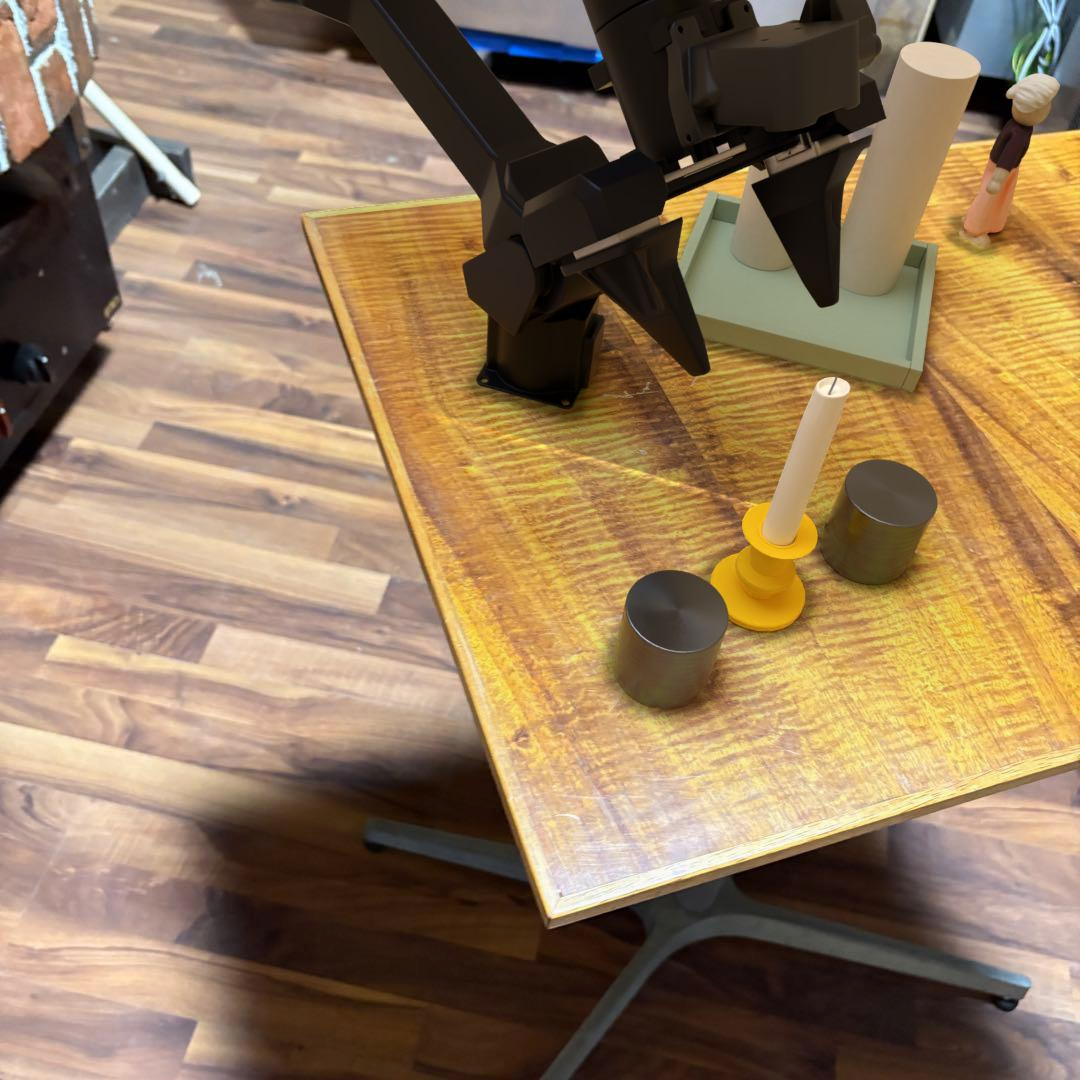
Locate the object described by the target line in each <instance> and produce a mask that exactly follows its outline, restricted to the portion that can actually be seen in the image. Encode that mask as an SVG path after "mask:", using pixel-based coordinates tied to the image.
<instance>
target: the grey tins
mask: <svg viewBox="0 0 1080 1080" xmlns="http://www.w3.org/2000/svg"><path fill="white" fill-rule="evenodd" d="M938 505H939V501H938V495H937V492H936V490H935V488H934V487H933V485H932V484H931V482H930V481H929V480H928V478H926V476H924V475H923V474H922V473H920V472H919V471H917V470H916V469H914V468H913V467H911V466H909V465H906V464H904V463H902V462H898V461H894V460H890V459H885V458H884V459H881V458H876V459H867V460H864V461H861V462H859V463H857V464H855V465H854V466H853V467H851V468H850V469H849V471H848V472H847V473H846V476H845V478H844V480H843V483H842V485H841V487H840V490H839V492H838V494H837V496H836V499H835V500H834V503H833V506H832V508H831V510H830V513H829V515H828V518H827V520H826V522H825V525H824V527H823V530H822V532H821V534H820V539H819V547H820V552H821V554H822V556H823V558H824V559H825V561H826V563H828V565H829V566H830V567H831V568H832V569H833V570H835V571H836V572H837V573H838V574H839V575H841V576H843V577H845V578H846V579H849V580H851V581H854V582H856V583H860V584H865V585H883V584H884V585H885V584H888V583H891V582H893V581H895V580H896V579H898V578H899V577H900V576H902V575H903V573H904V571H905V570H906V568H907V566H908V565H909V563H910V561H911V559H912V557H913V555H914V553H915V552H916V549H918V546H919V545H920V543H921V541H922V539H923V536H924V535H925V533H926V532H927V529H928V528H929V526H930V524H931V522H932V521H933V518H934V516H935V515H936V513H937V511H938ZM729 621H730V620H729V614H728V609H727V606H726V603H725V601H724V599H723V597H722V596H721V594H720V593H719V592H718V591H717V589H716V588H715V587H714V586H712V585H711V584H710V581H707V580H706V579H704V578H702V577H701V576H698V575H696V574H694V573H692V572H688V571H684V570H678V569H661V570H656V571H653V572H650V573H648V574H645V575H643V576H642V577H640V578H639V579H638V580H636V581H635V583H634V584H633V585H632V586H631V587H630V589H629V590H628V592H627V594H626V598H625V601H624V606H623V610H622V615H621V620H620V625H619V629H618V632H617V638H616V642H615V647H614V652H613V656H612V668H613V670H612V671H613V674H614V676H615V679H616V681H617V682H618V685H619V686H620V687H621V688H622V689H623V691H624V692H625V693H626V694H627V695H628V696H630V697H631V698H632V699H634V700H635V701H636V702H639V703H640V704H643V705H645V706H647V707H651V708H655V709H664V710H665V709H666V710H671V709H678V708H682V707H685V706H687V705H688V704H689V705H690V704H691V703H693V702H694V701H695V700H697V699H698V698H699V697H700V696H701V695H702V694H704V693H703V692H704V691H705V690H706V688H707V686H708V683H709V680H710V678H711V674H712V671H713V669H714V666H715V663H716V661H717V658H718V655H719V652H720V650H721V648H722V644H723V641H724V638H725V636H726V632H727V630H728V627H729V623H730V622H729Z"/></svg>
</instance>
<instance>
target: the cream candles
mask: <svg viewBox="0 0 1080 1080" xmlns="http://www.w3.org/2000/svg"><path fill="white" fill-rule="evenodd" d="M796 20H800V18H798V19H797V18H796ZM981 71H982V65H981V63H980V61H979V60H978V59H977V58H976V57H975V56H974V55H973V54H971V53H969V52H967V51H966V50H963V49H961V48H959V47H955V46H953V45H950V44H945V43H940V42H933V41H919V42H917V41H916V42H912V43H909V44H907V45H905V46H903V47H902V48H901V49H900V51H899V54H898V58H897V61H896V64H895V68H894V70H893V73H892V76H891V79H890V82H889V85H888V88H887V91H886V94H885V97H884V100H883V102H882V105H883V108H884V112H885V115H886V118H887V119H884V120H882V121H880V122H877V123H875V126H874V130H873V133H872V135H873V137H872V142H871V144H870V147H868V148H867V151H866V154H865V157H864V160H863V163H862V166H861V169H860V171H859V175H858V177H857V181H856V184H855V187H854V189H853V193H852V196H851V199H850V201H849V204H848V208H847V211H846V213H845V217H844V219H843V226H842V229H841V239H840V285H839V286H840V287H842V288H843V289H845V290H847V291H850V292H852V293H855V294H859V295H865V296H879V295H883V294H886V293H888V292H890V291H891V290H892V289H893V288H894V287H895V285H896V282H897V279H898V277H899V274H900V272H901V269H902V267H903V264H904V262H905V259H906V257H907V254H908V252H909V249H910V247H911V244H912V242H913V239H915V238H916V234H917V231H918V230H919V226H920V224H921V221H922V219H923V216H924V214H925V211H926V209H927V207H928V204H929V202H930V199H931V196H932V194H933V191H934V189H935V186H936V183H937V181H938V179H939V177H940V173H941V171H942V169H943V167H944V165H945V161H946V159H947V156H948V154H949V151H950V150H951V149H950V148H951V146H952V144H953V141H954V139H955V137H956V133H957V131H958V128H959V126H960V124H961V121H962V118H963V116H964V115H965V111H966V109H967V106H968V103H969V101H970V99H971V96H972V93H973V92H974V89H975V87H976V84H977V81H978V78H979V76H980V73H981ZM767 177H769V176H768V173H767V170H766V169H765V170H763V171H760V170H758V169H757V168H755V167H754V166H752V165H751V166H749V167H748V170H747V174H746V178H745V183H744V185H743V186H744V187H743V190H742V195H741V197H740V198H741V203H740V207H739V211H738V215H737V219H736V223H735V227H734V231H733V236H732V240H731V244H730V249H731V252H732V254H733V256H734V257H735V258H736V259H737V260H738V261H740V262H741V263H743V264H745V265H747V266H749V267H752V268H755V269H759V270H765V271H777V270H782V269H785V268H787V267H789V266H791V265H792V262H791V260H790V258H789V256H788V254H787V253H786V251H785V249H784V247H783V245H782V243H781V241H780V239H779V237H778V236H777V234H776V232H775V230H774V228H773V226H772V224H771V222H770V220H769V219H768V217H767V215H766V213H765V211H764V209H763V208H762V206H761V204H760V202H759V200H758V198H757V196H756V194H755V192H754V191H753V189H752V186H751V184H753V183H755V182H758V181H760V180H762V179H764V178H767Z"/></svg>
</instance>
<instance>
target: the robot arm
mask: <svg viewBox="0 0 1080 1080" xmlns="http://www.w3.org/2000/svg"><path fill="white" fill-rule="evenodd" d="M297 1H298V3H299V4H300V5H301V6H303V7H304V9H307V10H309V11H312V12H314V13H316V14H319V15H321V16H324V17H325V18H329V19H332V20H334V21H336V22H338V23H341V24H343V25H346V26H348V27H349V28H350V29H351V30H352V31H353V32H354V34H355V35H356V37H357V38H358V39H359V40H360V41H361V43H362V44H363V45H364V47H365V49H366V50H367V51H368V52H369V53H370V55H371V56H372V57H373V59H374V60H375V62H376V63H377V64H378V65H379V67H380V68H381V70H382V71H383V72H384V73H385V74H386V76H387V77H388V79H389V80H390V81H391V82H392V84H393V85H394V87H395V88H396V89H397V90H398V92H399V94H400V95H401V96H402V97H403V98H404V100H405V101H406V103H407V104H408V106H410V108H411V109H412V110H413V112H414V114H416V116H417V117H418V119H419V120H420V121H421V122H422V124H423V125H424V126H425V127H426V129H427V131H429V133H430V134H431V136H432V137H433V138H434V139H435V141H436V142H437V143H438V145H439V146H440V147H441V149H442V150H443V152H444V153H445V154H446V156H447V157H448V158H449V159H450V161H451V162H452V163H453V165H454V166H455V168H456V169H457V170H458V171H459V173H460V174H461V175H462V177H463V178H464V179H465V180H466V182H467V183H468V185H469V186H470V187H471V189H472V191H474V193H475V194H476V196H477V197H478V199H479V201H480V214H481V216H480V217H481V233H482V234H481V235H482V246H483V249H484V251H482V252H480V254H478V255H476V256H474V257H472V258H470V259H469V260H467V261H465V262H463V263H462V264H461V265H462V266H461V269H462V275H463V279H464V284H465V289H466V293H467V297H468V299H469V300H470V301H472V302H473V303H474V304H475V305H476V306H477V307H479V309H481V310H482V311H483V312H485V313H486V315H487V324H486V325H487V326H486V327H487V329H486V354H485V362H484V365H483V366H482V368H481V370H480V371H479V373H478V375H477V377H476V380H475V382H476V384H477V385H478V386H480V387H483V388H486V389H491V390H494V391H498V392H502V393H505V394H508V395H513V396H515V397H519V398H523V399H526V400H531V401H533V402H537V403H541V404H545V405H549V406H552V407H555V408H560V409H563V410H570V409H573V407H574V406H575V404H576V401H577V399H578V397H579V395H580V393H581V390H583V391H585V390H587V389H589V388H590V385H591V383H592V381H593V379H594V377H595V375H596V373H597V370H598V368H599V366H600V359H601V352H602V345H603V339H604V331H605V324H606V318H605V315H603V314H600V313H598V311H599V310H598V309H599V305H600V304H599V303H600V296H602V295H604V296H606V297H607V298H608V299H609V300H611V302H613V303H614V304H615V305H617V306H618V307H619V308H621V310H623V311H624V312H625V313H626V314H627V315H628V316H629V317H631V318H632V319H633V320H634V322H635V323H637V324H638V325H639V326H640V328H642V329H643V330H644V331H645V332H646V333H647V334H648V335H649V336H650V337H651V338H652V339H653V340H654V341H655V342H656V343H657V344H658V345H659V346H660V347H661V348H662V349H663V350H664V351H665V352H666V353H667V354H668V355H669V356H670V358H672V359H673V360H674V361H675V362H676V363H677V364H678V365H679V366H680V367H681V368H682V369H683V370H684V371H685V372H686V373H687V374H688V375H689V376H690V377H693V378H696V377H702V376H705V375H707V374H709V373H710V372H711V363H710V360H709V355H708V350H707V345H706V341H705V339H704V338H703V335H702V332H701V329H700V326H699V323H698V320H697V317H696V315H695V312H694V309H693V306H692V303H691V300H690V297H689V294H688V291H687V288H686V285H685V282H684V279H683V276H682V274H681V271H680V268H679V265H678V263H679V261H678V256H679V255H678V254H679V249H680V241H681V237H682V230H683V225H684V219H683V216H680V217H677V218H675V219H673V220H670V221H668V222H665V223H663V224H662V223H661V220H660V217H659V216H662V215H663V212H664V208H665V205H666V202H667V201H670V200H672V199H675V198H677V197H680V196H682V195H684V194H687V193H689V192H692V191H693V190H696V189H698V188H701V187H703V186H705V185H708V184H710V183H712V182H715V181H718V180H720V179H723V178H724V177H726V176H729V175H731V174H734V173H737V172H740V171H741V170H744V169H746V168H749V166H751V165H752V166H754V167H755V168H757V169H758V170H760V171H763V170H765V169H766V170H767V173H768V176H769V177H767V178H764V179H762V180H760V181H758V182H755V183H753V184H751V186H752V189H753V191H754V192H755V194H756V196H757V198H758V200H759V202H760V204H761V206H762V208H763V209H764V211H765V213H766V215H767V217H768V219H769V220H770V222H771V224H772V226H773V228H774V230H775V232H776V234H777V236H778V237H779V239H780V241H781V243H782V245H783V247H784V249H785V251H786V253H787V254H788V256H789V258H790V260H791V262H792V264H793V266H794V268H795V270H796V271H797V273H798V275H799V277H800V279H801V281H802V283H803V284H804V286H805V287H806V289H807V290H808V292H809V293H810V295H811V296H812V298H813V300H814V301H815V303H816V304H817V306H818V307H820V308H825V307H830V306H833V305H835V304H837V303H838V301H839V285H840V239H841V222H842V211H843V201H844V190H845V185H846V182H847V180H848V177H849V175H850V174H851V172H852V170H853V169H854V166H855V165H856V162H858V160H859V157H860V155H861V153H862V152H863V151H864V150H866V149H868V148H869V147H870V144H871V142H872V137H873V133H871V134H869V135H866V136H864V137H861V138H858V139H856V140H854V141H850V137H849V135H851V134H854V133H857V132H859V131H861V130H864V129H865V128H869V127H870V126H873V125H876V124H877V122H880V121H882V120H884V119H887V118H886V115H885V112H884V108H883V102H882V99H881V94H880V92H879V88H878V85H877V82H876V79H874V78H872V77H870V76H868V75H867V74H865V73H863V72H862V71H861V70H863V69H866V68H868V67H870V66H871V64H872V63H873V62H874V60H875V59H876V58H877V57H878V56H879V55H880V54H881V51H882V48H883V47H882V46H883V43H882V39H881V38H880V36H879V35H878V34H877V23H876V20H875V17H874V15H873V12H872V9H871V8H870V5H869V2H868V1H867V0H805V1H804V4H803V7H802V10H801V14H800V17H799V19H800V20H797V19H791V20H789V21H786V22H782V23H781V24H773V25H762V26H761V25H760V23H759V22H758V19H757V17H756V13H755V10H754V8H753V5H752V3H751V2H750V0H581V1H582V4H583V7H584V9H585V12H586V15H587V18H588V20H589V23H590V26H591V28H592V31H593V35H594V37H595V40H596V44H597V45H598V49H599V51H600V54H601V57H602V59H601V60H599V61H598V62H596V63H595V64H593V65H592V66H591V67H589V68H588V69H587V72H588V74H589V78H590V81H591V83H592V86H593V89H594V91H595V92H597V91H601V90H604V89H607V88H609V87H613V91H614V93H615V96H616V99H617V102H618V104H619V106H620V110H621V112H622V116H623V118H624V120H625V123H626V127H627V129H628V132H629V135H630V137H631V140H632V143H633V146H634V149H632V150H630V151H627V152H626V153H624V154H622V155H620V156H619V158H616V159H614V160H611V161H610V160H609V159H608V156H607V155H606V154H605V152H604V151H603V149H602V147H601V146H600V144H599V143H598V142H596V141H595V140H594V139H592V138H591V137H590V136H589V135H587V134H584V135H581V136H578V137H576V138H575V137H574V138H573V139H570V140H567V141H564V142H561V143H559V144H557V143H554V142H552V141H550V140H548V139H546V138H545V137H544V136H543V135H542V134H541V133H540V132H539V130H538V129H537V127H536V126H535V125H534V124H533V122H532V121H531V120H530V118H528V116H527V115H526V114H525V112H524V111H523V110H522V109H521V107H520V106H519V104H518V103H517V102H516V101H515V100H514V98H513V97H512V95H510V93H509V92H508V91H507V90H506V88H505V86H504V85H503V84H502V83H501V82H500V80H499V79H498V78H497V76H496V75H495V73H493V71H492V70H491V69H490V67H488V65H487V64H486V62H485V61H484V60H483V59H482V57H481V56H480V55H479V54H478V52H477V51H476V50H475V48H474V47H473V46H472V45H471V43H470V42H469V41H468V39H467V38H466V36H464V35H463V32H461V30H460V29H459V28H458V27H457V25H456V24H455V23H454V22H453V21H452V19H451V17H449V15H448V14H447V13H446V11H445V10H444V9H443V8H442V6H441V5H440V3H439V2H438V1H437V0H297ZM726 144H727V145H728V148H729V149H725V150H723V151H721V152H719V150H718V148H719V147H722V146H724V145H726ZM687 157H691V161H692V163H691V164H689V165H686V166H683V167H681V165H680V161H681V160H683V159H685V158H687ZM482 380H487V381H482ZM563 402H568V403H569V404H565V403H563Z"/></svg>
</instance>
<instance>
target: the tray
mask: <svg viewBox="0 0 1080 1080" xmlns="http://www.w3.org/2000/svg"><path fill="white" fill-rule="evenodd" d="M741 198H742V197H736V196H732V195H727V194H724V193H719V192H717V191H713V190H712V191H711V190H708V192H707V195H706V197H705V199H704V202H703V204H702V206H701V209H700V211H699V213H698V216H697V218H696V220H695V223H694V225H693V228H692V230H691V232H690V235H689V237H688V239H687V242H686V244H685V247H684V249H683V251H682V253H681V256H680V258H679V261H678V265H679V268H680V271H681V274H682V276H683V279H684V282H685V285H686V288H687V291H688V294H689V297H690V300H691V303H692V306H693V309H694V312H695V315H696V317H697V320H698V323H699V326H700V329H701V332H702V335H703V338H704V340H707V341H711V342H715V343H719V344H723V345H725V346H726V345H727V346H730V347H733V348H738V349H741V350H746V351H749V352H754V353H757V354H761V355H765V356H769V357H773V358H777V359H780V360H785V361H789V362H792V363H796V364H800V365H804V366H808V367H812V368H815V369H819V370H823V371H828V372H831V373H835V374H838V375H843V376H846V377H851V378H854V379H858V380H862V381H865V382H869V383H874V384H877V385H881V386H885V387H888V388H893V389H897V390H900V391H905V392H908V393H912V394H913V393H914V391H915V389H916V387H917V384H918V382H919V380H920V378H921V376H922V374H923V372H924V371H923V370H924V363H925V355H926V348H927V347H926V346H927V340H928V332H929V331H928V330H929V324H930V315H931V310H932V309H931V307H932V299H933V292H934V283H935V278H936V277H935V276H936V269H937V260H938V254H939V253H938V252H939V245H938V244H936V243H931V242H927V241H922V240H919V239H915V238H914V239H913V242H912V244H911V247H910V249H909V252H908V254H907V257H906V259H905V262H904V264H903V267H902V269H901V272H900V274H899V277H898V279H897V282H896V285H895V287H894V288H893V289H892V290H891V291H890V292H888V293H886V294H883V295H879V296H865V295H859V294H855V293H852V292H850V291H847V290H845V289H843V288H842V287H840V286H839V301H838V303H837V304H835V305H833V306H830V307H825V308H820V307H818V306H817V304H816V303H815V301H814V300H813V298H812V296H811V295H810V293H809V292H808V290H807V289H806V287H805V286H804V284H803V283H802V281H801V279H800V277H799V275H798V273H797V271H796V270H795V268H794V266H793V264H792V265H791V266H789V267H787V268H785V269H782V270H777V271H765V270H759V269H755V268H752V267H749V266H747V265H745V264H743V263H741V262H740V261H738V260H737V259H736V258H735V257H734V256H733V254H732V252H731V249H730V244H731V240H732V236H733V231H734V227H735V223H736V219H737V215H738V211H739V207H740V203H741ZM843 223H844V221H843V222H842V221H841V229H842V226H843Z"/></svg>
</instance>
